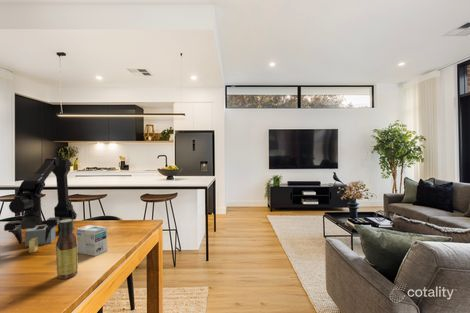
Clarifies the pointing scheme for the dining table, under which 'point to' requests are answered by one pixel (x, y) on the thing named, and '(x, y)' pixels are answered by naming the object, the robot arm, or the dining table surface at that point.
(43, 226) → the coin box
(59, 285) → the dining table surface
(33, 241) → the block
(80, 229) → the light bulb box
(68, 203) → the robot arm
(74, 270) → the sauce bottle
